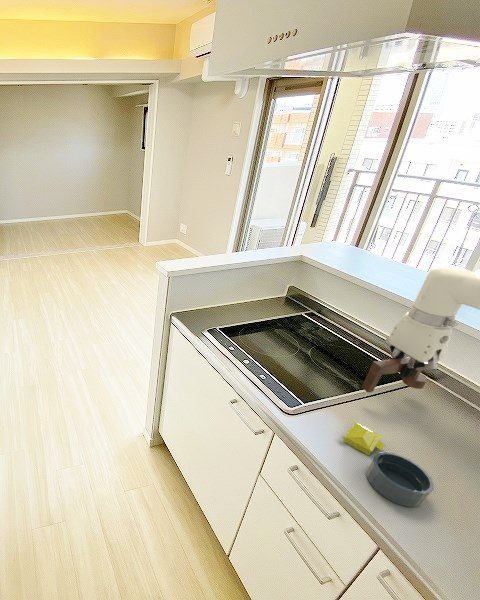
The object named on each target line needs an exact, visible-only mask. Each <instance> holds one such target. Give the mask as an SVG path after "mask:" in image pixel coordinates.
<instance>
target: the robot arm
mask: <svg viewBox="0 0 480 600" xmlns="http://www.w3.org/2000/svg"><path fill="white" fill-rule="evenodd" d="M424 279H425V280H424V282H423V283H422V285H421V287H420V289H419V291H418V293H417V295H416V297H415V298H414V301H413V303H412V305H411V308H409V311H407V312H405V313H404V314H403V315H402V317H400V319H399V320H398V321H397V323H396V324H395V325H394V327H393V328H392V331H391V332H390V334H389V336H388V337H387V338H386V339H384V342H385V343H386V344H387V345H388V347H389V349H390V353H391V355H390V356H391V359H399V358H405V356H406V355H408V357H411V358H410V360H409V362H408V364H407V365H405V366H404V367H403V368H402V370H401V372H400V373H398V378H399V379H403V378H409V377H412V376H413V374H414V372H415V371H416V369H417V368H419V367H424V369H427V370H437V369H438V368H439V366H438V365H439V361H442V359H443V358H444V355H445V353H446V352H447V350H448V347H449V345H450V343H451V339H452V335H453V329H454V328H456V327H457V326H458V325H459V323H458V322H457V321H455V319H456V315H457V314H458V312H459V310H460V309H461V306H462V305H464V306H467V307H470V308H473V309H476V310H479V311H480V269H478V270H476V271H475V272H473V271H471V270H469V269H467V268H463V267H460V266H454V265H438V266H434V267H432V268H431V269H430V270H429V272H428V273H427V275H426V277H425V278H424ZM427 361H428V362H427Z"/></svg>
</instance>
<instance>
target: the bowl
mask: <svg viewBox="0 0 480 600" xmlns="http://www.w3.org/2000/svg"><path fill="white" fill-rule="evenodd" d="M373 455H374V456H373V457H372V459H371V460H370V462H369V464H368V466H367V468H366V471H365V474H366V478H367V480H368V481H369V483H370V485H371V487H373V488H374V490H375V491H377V492H378V493H379V494H380V495H381V496H382V497H384V498H385V499H387V500H389V501H391V502H393V503H394V504H398V505H401V506H404V507H412V508H415V507H420V506H421V505H423V504H424V503H425V502H426V500H427V499H428V498H429V496H430V495H431V494H432V492H433V491H434V487H435V484H434V482H433V478H432V477H431V476H430V474H429V473H428V472H427V471H426V470H425V469H423V468H422V467H421V466H420V465H419V464H417V462H414V461H413V460H411V459H409V458H407V457H405V456H403V455H402V454H401V455H400V454H397V453H395V452H389V451H380V452H377V453H375V454H373Z"/></svg>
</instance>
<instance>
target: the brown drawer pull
mask: <svg viewBox="0 0 480 600" xmlns="http://www.w3.org/2000/svg"><path fill="white" fill-rule="evenodd" d="M410 358H411V356H408V357H404V358H399V359H392V358H391V359H383V360H377V361H372V364H371V366H370V368H369V370H368V372H367V374H366V376H365V379H364V381H363V383H362V385H361V389H363V390H364V391H365V392H366V393H373V392H374V390H375V388H376V387H377V385H378V382H379V381H380V379H381V377H382V376H383V375H391V374H393V375H394V374H400V372H401V370H402V368H403V367H404V366H405V365H407V364H408V362H409V360H410ZM427 363H428V361H427ZM424 369H425V368H424V367H419V368H417V369H416V371H415V372H414V374H413V376H412V377H409V378H401V381H402V382H403V384H405V385H406V386H407V387H409V388H412V389H419V390H421V389H423V388H425V385H426V383H427V382H428V378H427V377H426V376H424V375H423V374H422V373H421V372H422V371H423V370H424Z"/></svg>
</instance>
